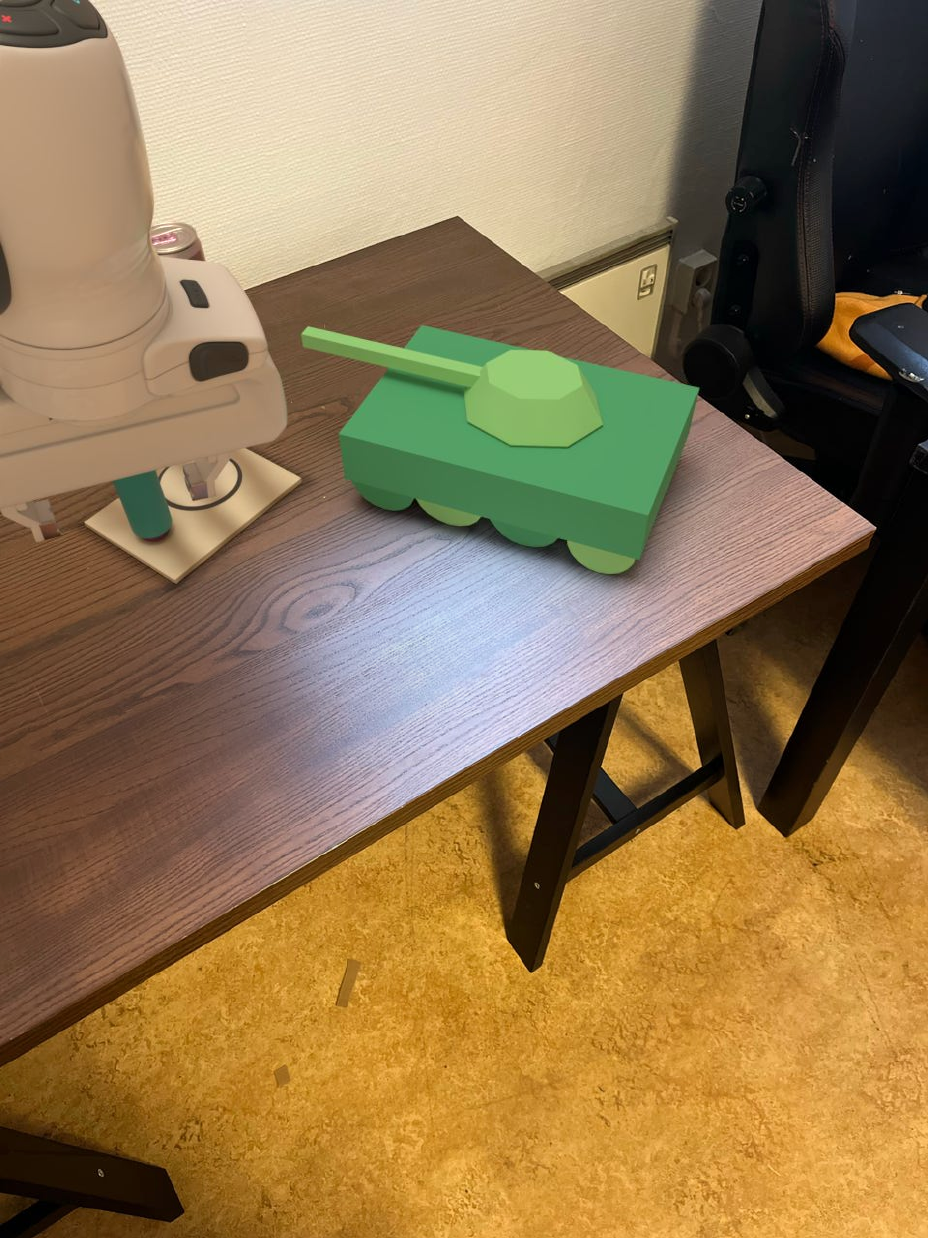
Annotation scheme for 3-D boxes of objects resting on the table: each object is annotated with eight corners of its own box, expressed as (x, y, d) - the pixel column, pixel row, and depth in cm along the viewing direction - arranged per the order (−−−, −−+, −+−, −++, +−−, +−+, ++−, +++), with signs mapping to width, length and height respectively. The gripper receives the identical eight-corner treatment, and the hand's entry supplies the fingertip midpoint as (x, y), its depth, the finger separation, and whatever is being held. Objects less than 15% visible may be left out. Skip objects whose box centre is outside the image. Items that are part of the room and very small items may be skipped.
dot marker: (153, 552, 83) (116, 455, 74) (126, 535, 84) (87, 438, 76) (183, 528, 85) (151, 432, 76) (156, 512, 86) (121, 415, 78)
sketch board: (176, 584, 81) (173, 578, 81) (85, 526, 86) (83, 520, 85) (302, 482, 89) (301, 476, 89) (213, 434, 94) (212, 428, 93)
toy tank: (345, 273, 90) (707, 351, 81) (357, 380, 99) (683, 461, 91) (251, 376, 80) (655, 479, 71) (274, 485, 89) (633, 588, 80)
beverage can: (168, 361, 102) (128, 228, 90) (221, 347, 103) (189, 214, 92) (181, 391, 98) (142, 258, 87) (237, 376, 100) (205, 243, 88)
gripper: (-141, 427, 42) (-45, 600, 53) (296, 335, 49) (298, 505, 60) (-163, 334, 44) (-67, 517, 56) (255, 259, 52) (264, 436, 63)
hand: (125, 510), depth 58 cm, fingers open, 8 cm apart
